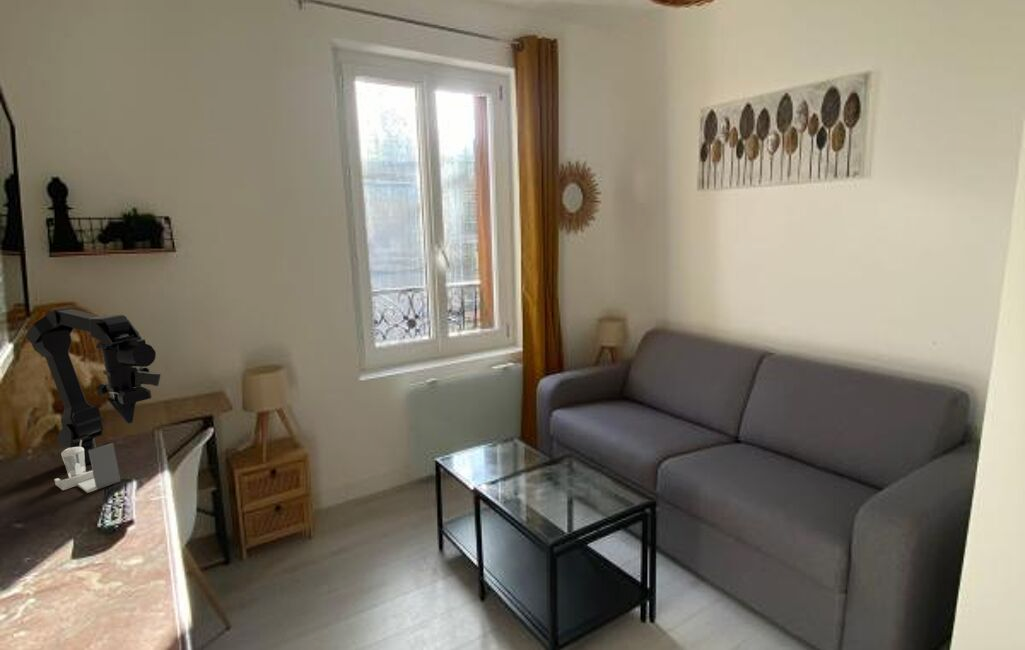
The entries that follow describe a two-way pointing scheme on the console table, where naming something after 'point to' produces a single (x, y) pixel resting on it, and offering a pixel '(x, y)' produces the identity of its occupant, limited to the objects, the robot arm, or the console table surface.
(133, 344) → the robot arm
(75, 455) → the milkshake
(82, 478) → the white bracket
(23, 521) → the console table surface
